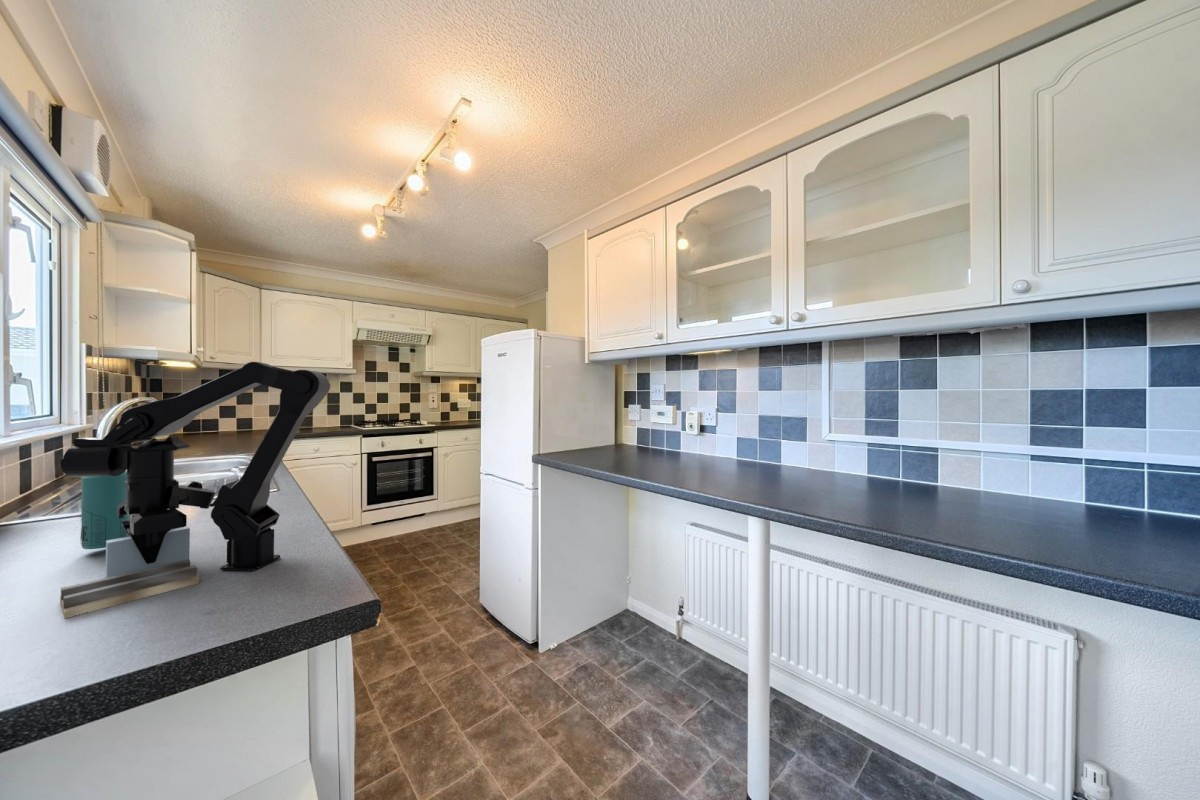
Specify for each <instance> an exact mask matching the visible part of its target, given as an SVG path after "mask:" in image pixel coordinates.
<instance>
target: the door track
mask: <svg viewBox="0 0 1200 800" xmlns="http://www.w3.org/2000/svg"><path fill="white" fill-rule="evenodd" d="M199 579H200V577H199V576H198V566H196V565H191V560H190V558H189V559H188V560H184V561H179V562H175V563H170V564H166V565H161V566H157V567H152V568H148V569H143V570H139V571H134V572H130V573H126V574H121V575H117V576H112V577H108V578H105V577H104V578H99V579H95V580H92V581H91V580H90V581H85V582H82V583H77V584H73V585H69V586H64V587H61V588H60V595H59V602H60V607H61V610H63V611H62V614H63V618H64V619H67V618H71V617H76V616H80V615H83V613H84V614H87V613H86V612H88V613H91V612H96V611H98V610H102V609H106V608H110V607H115V606H118V605H122V604H126V603H128V602H133V601H136V600H140V599H144V598H148V597H152V596H155V595H159V594H164V593H167V592H170V591H171V592H172V591H174V590H179V589H183V588H186V587H189V586H194V585H198V584H200V583H199V582H200V581H199ZM132 600H133V601H132ZM79 614H80V615H79ZM75 615H76V616H75Z"/></svg>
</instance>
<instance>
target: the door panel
mask: <svg viewBox="0 0 1200 800" xmlns="http://www.w3.org/2000/svg"><path fill="white" fill-rule="evenodd" d="M190 532H191V528H190V527H188V526H187V525H186V526H185V527H182V528H176V529H171V530H170V531H168V532H167V533H166V534H165V537H164V539H163V542H162V545H161V548H160V550H159V553H158V556H157V559H156V561H155V562H154V563H150V564H146V562H145V560H144V559H143V557H142V555H141V554H140V552H139V550H138V548H137V547H136V545H135V543H134V542H133V540H132V538H131V537H130V536H129V537H124V538H118V539H112V540H106V548H105V575H104V578H108V577H112V576H117V575H121V574H126V573H130V572H134V571H139V570H143V569H148V568H152V567H157V566H161V565H166V564H170V563H175V562H179V561H184V560H188V559H189V560H190V541H191V540H190V539H191V538H190V537H191V534H190Z"/></svg>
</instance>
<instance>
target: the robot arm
mask: <svg viewBox="0 0 1200 800" xmlns="http://www.w3.org/2000/svg"><path fill="white" fill-rule="evenodd" d="M261 385H262V386H267V387H269V388H273V389H278V390H280V394H279V406H278V407H279V408H278V411H277V413H276V415H275V416H274V419H273V420H272V422H271V424H270V425H269V428H268V429H267V431H266V433H265V434H264V436H263V437H262V440H261V442H259V443H260V444H259V446H258V447H257V449H256V451H255V453H254V454H253V457H252V458H251V460H250V461H249V463H248V465H247V467H246V469H245V470H244V473H243V474H242V475H241V477H240V478H239V479H237V480H234V481H231V482H228V483H225V484H222V485H221V487H220V488H219V490H218V494H216V493H217V492H216V491H214V490H212V489H208V488H203V483H201V482H199V481H194V480H189V481H188V482H186V484H185V485H184V484H183V485H181V484H180V483H179V481H178V480H177V479H175V478H174V476H175V475H174V473H175V471H174V469H175V451H180V450H186V449H189V448H190V444H189V443H187V442H185V441H183V440H182V439H180V438H179V436H171V435H173V434H175V433H177V432H179V431H180V430H181V429H183V428H184V427H186V426H188V425H189V424H190V423H191V422H192V421H193V420H194V419H195V418H196V417H198V416H199V415H200V414H202V413H203V412H205V411H207V410H209V409H211V408H214V407H215V406H218V405H220V404H223V403H224V402H226V401H229V400H232V399H233V398H235V397H237V396H239V395H241V394H243V393H246V392H248V391H250V390H252V389H254V388H257V387H259V386H261ZM330 390H331V383H330V380H329V378H328V377H327V376H326V375H325V374H323V373H321V372H319V371H315V370H307V369H297V370H289V369H285V368H281V367H277V366H274V365H273V366H272V365H270V364H269V363H264V362H260V361H249V362H247V363H245V364H244V365H243V366H241V367H239V368H237V369H234V370H232V371H230V372H227V373H226V374H223V375H222V376H218V377H217V378H214V379H212V380H210V381H207V382H206V383H203V384H201V385H199V386H197V387H193V388H192V389H190V390H188V391H186V392H183V393H181V394H179V395H176V396H173V397H168V398H163V399H159V400H154V401H149V402H146V403H142V404H139V405H136V406H131V407H130V408H127V409H125V410H124V411H122V413H121V414H120V420H119V422H118V423H117V424H116V425H114V427H113V428H112V429H111V430H110V431H109V432H108V433H107V434H106V435H105V436H104V437H103V438H98V437H97V438H96V437H79V438H78V437H77V438H74V439H73V445H72V446H70V447H69V448H68V449H67V450H66V451H65V453H64V455H63V457H62V459H60V467H61V470H62V472H63V474H64V475H65V476H67V477H69V478H82V477H101V476H119V475H121V474H122V473H124V472H125V471H126V472H127V481H125V488H126V489H127V500H124V501H123V502H121V503H120V504H119V505H117V506H116V516H117V517H118V518H123V517H124V515H129V516H128V521H125V522H122V523H121V524H122V526H123V527H124V529H125V531H126V532H127V534H128V536H130V537H131V538H132V540H133V542H134V543H135V545H136V547H137V548H138V550H139V552H140V554H141V555H142V557H143V559H144V560H145V562H146V564H150V563H154V562H155V561H156V559H157V556H158V553H159V550H160V548H161V545H162V542H163V539H164V537H165V534H166V533H167V532H168V531H170V530H171V529H176V528H182V527H186V526H187V524H188V523H187V515H186V514H185V513H183V512H182V511H181V510H179V509H180V505H181V506H187V507H188V506H189V507H196V508H197V507H199V508H200V509H204V510H205V509H207V510H208V509H209V508H211V507H212V509H211V512H210V518H211V519H212V522H213V523H214V524H215V525H216V526H217V527H219V530H220V532H221V534H222V536H223V539H224V540H225V541H226V540H227V541H226V563H225V564H223V565H221V566H220V567H219V570H222V571H224V570H225V571H250V572H251V571H255V570H258V569H260V568H262V567H264V566H266V565H268V564H270V563H272V562H275V561H276V560H278V559H280V558H281V554H275V529H274V528H271V527H273V526H275V525H277V523H278V521H279V518H280V516H281V515H280V513H279V512H277V511H276V510H275V509H274V508H273V507H271V506H269V504H268V501H269V498H270V493H271V492H270V491H271V481H272V479H273V477H274V475H275V474H276V472H277V470H278V469H279V466H280V464H281V462H282V461H283V459H284V457H285V456H286V453H287V452H288V450H289V448H290V446H291V444H292V442H293V441H294V439H295V437H296V435H297V433H298V431H299V430H300V428H301V426H302V424H303V422H304V420H305V418H306V417H307V416H308V415H309V414H310V413H312V411H313V410H314V409H316V408H317V406H319V405H320V404H321V402H322V401H323V399H324V398H325V397H326V396H327V395H328V393H329V392H330ZM166 436H167V438H166V439H165V440H153V439H155V438H160V437H166ZM169 436H170V437H169ZM141 442H142V443H141ZM135 443H136V444H137V443H140V444H139V445H134V446H133V444H135ZM216 495H217V497H216V498H215V496H216ZM214 498H215V500H214ZM213 500H214V501H213Z"/></svg>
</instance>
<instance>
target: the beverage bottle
mask: <svg viewBox="0 0 1200 800" xmlns="http://www.w3.org/2000/svg"><path fill="white" fill-rule="evenodd" d="M80 479H81V480H80V481H81V499H80V504H79V506H80V508H81V510H80V511H81V512H80V523H81V526H80V538H79V539H80V544H79V545H81V548H82V549H83V550H98V549H106V540H112V539H118V538H124V537H129V536H128V534H127V532H126V531H125V529H124V527H123V526H122V524H121V523H122V522H125V521H128V516H129V515H124V517H123V518H118V517H117V516H116V506H117V505H119V504H120V503H121V502H123V501H124V500H127V489H126V488H125V481H127V470H126V471H125V472H124V473H122V474H121V475H119V476H101V477H80Z"/></svg>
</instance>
